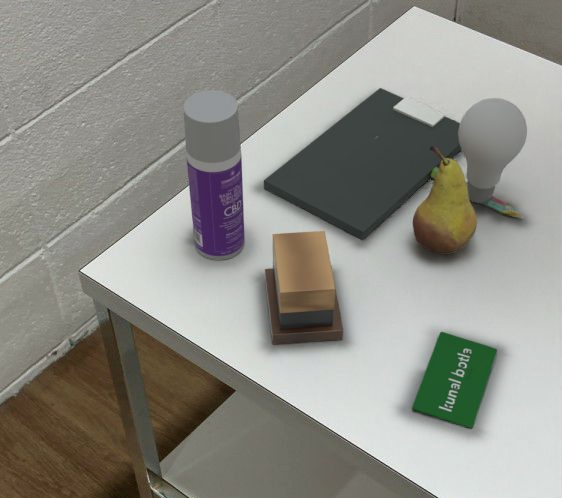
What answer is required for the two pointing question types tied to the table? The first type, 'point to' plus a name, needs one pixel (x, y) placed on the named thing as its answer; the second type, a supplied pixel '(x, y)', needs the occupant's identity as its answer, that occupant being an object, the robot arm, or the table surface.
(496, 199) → the pencil
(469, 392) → the business card
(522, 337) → the table surface
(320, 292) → the eraser
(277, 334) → the eraser rest
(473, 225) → the fruit
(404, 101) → the white rectangular block
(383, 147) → the board
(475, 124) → the lightbulb
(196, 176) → the container
